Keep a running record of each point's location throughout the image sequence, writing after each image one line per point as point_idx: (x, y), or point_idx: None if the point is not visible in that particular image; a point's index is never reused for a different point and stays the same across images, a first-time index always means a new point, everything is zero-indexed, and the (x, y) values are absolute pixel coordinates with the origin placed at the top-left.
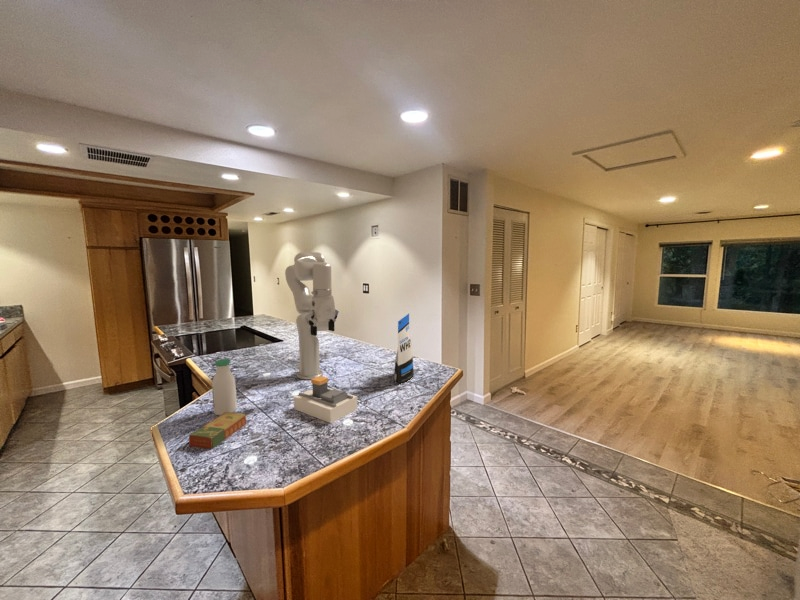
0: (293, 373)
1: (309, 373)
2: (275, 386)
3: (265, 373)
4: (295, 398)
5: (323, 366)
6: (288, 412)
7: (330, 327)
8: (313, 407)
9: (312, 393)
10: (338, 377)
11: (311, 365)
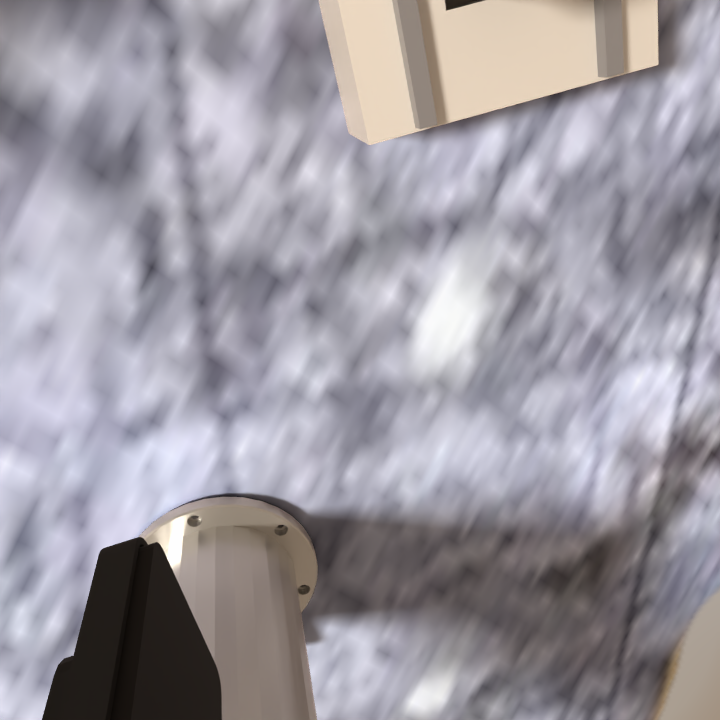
0: None
1: (255, 544)
2: (487, 501)
3: (430, 708)
4: (652, 40)
5: None
6: None
7: (190, 696)
8: None
9: (525, 12)
10: (42, 430)
11: (240, 588)
